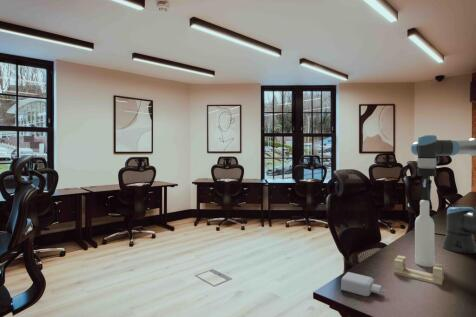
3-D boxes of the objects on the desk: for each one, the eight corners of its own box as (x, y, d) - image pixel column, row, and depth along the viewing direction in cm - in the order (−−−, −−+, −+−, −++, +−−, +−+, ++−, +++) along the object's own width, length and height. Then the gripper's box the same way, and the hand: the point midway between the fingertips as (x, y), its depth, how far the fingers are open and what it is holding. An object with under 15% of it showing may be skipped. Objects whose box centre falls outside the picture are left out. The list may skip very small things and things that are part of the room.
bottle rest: (398, 268, 134) (398, 255, 134) (443, 278, 123) (443, 264, 123) (394, 273, 128) (394, 260, 128) (441, 285, 117) (441, 269, 117)
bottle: (438, 267, 135) (437, 202, 133) (418, 266, 137) (418, 202, 135) (430, 260, 143) (430, 198, 141) (412, 259, 144) (411, 198, 142)
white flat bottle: (384, 302, 104) (340, 290, 113) (389, 293, 111) (348, 282, 120) (384, 289, 103) (341, 278, 113) (389, 280, 111) (348, 270, 120)
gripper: (419, 167, 149) (419, 213, 150) (415, 167, 139) (414, 217, 140) (437, 167, 145) (436, 216, 145) (434, 168, 135) (433, 220, 135)
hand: (425, 216), depth 142 cm, fingers closed
